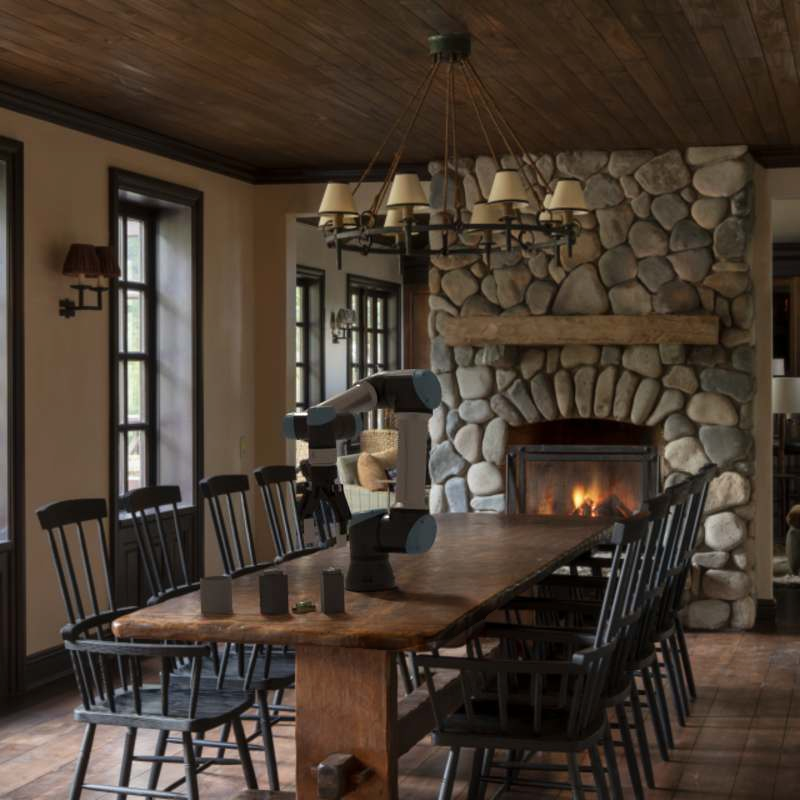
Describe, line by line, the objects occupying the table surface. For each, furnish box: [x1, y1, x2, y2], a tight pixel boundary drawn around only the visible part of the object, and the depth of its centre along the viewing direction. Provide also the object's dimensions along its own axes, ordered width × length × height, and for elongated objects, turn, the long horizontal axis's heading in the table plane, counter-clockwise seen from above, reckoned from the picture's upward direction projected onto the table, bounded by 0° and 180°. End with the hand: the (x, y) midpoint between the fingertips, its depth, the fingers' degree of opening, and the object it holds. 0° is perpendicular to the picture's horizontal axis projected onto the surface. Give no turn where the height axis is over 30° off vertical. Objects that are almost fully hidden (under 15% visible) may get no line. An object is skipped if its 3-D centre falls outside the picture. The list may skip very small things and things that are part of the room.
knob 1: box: [258, 568, 290, 616], centre depth 345 cm, size 5×5×11 cm
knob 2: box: [319, 567, 346, 615], centre depth 344 cm, size 5×5×11 cm
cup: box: [199, 575, 234, 615], centre depth 350 cm, size 8×8×10 cm
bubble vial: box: [291, 600, 317, 615], centre depth 345 cm, size 6×2×3 cm, turn 131°
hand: (325, 545), depth 343 cm, fingers open, 13 cm apart
